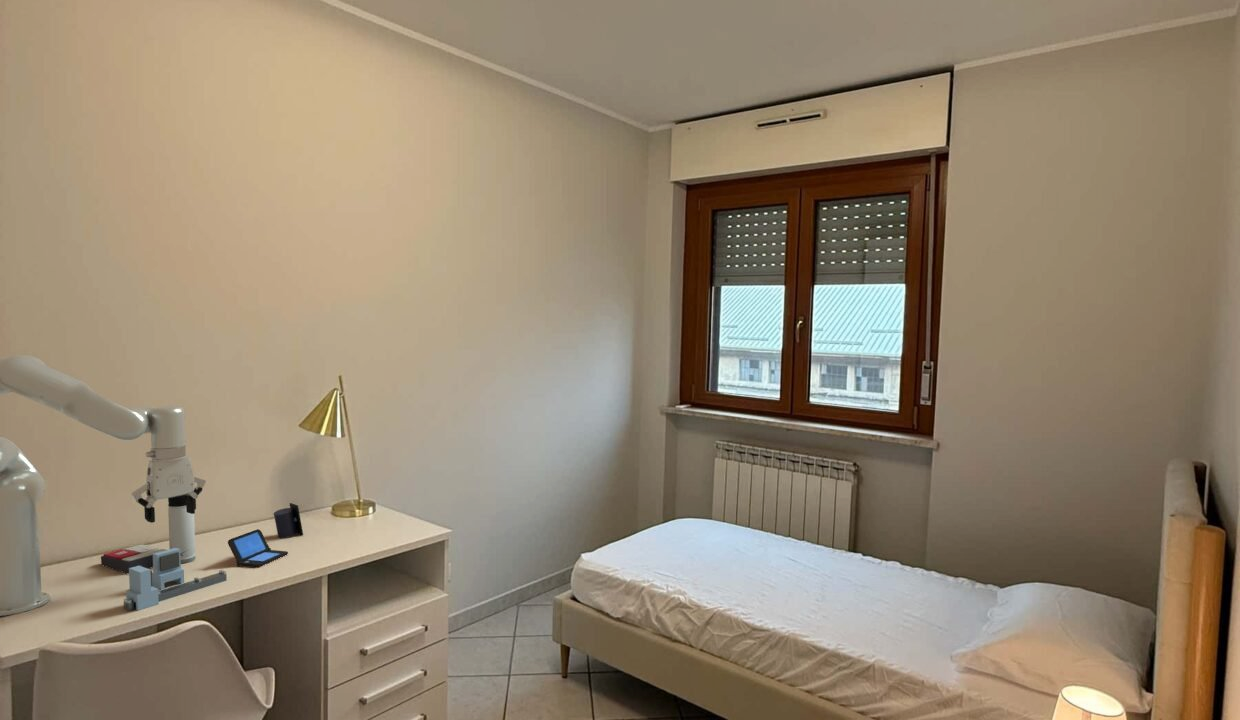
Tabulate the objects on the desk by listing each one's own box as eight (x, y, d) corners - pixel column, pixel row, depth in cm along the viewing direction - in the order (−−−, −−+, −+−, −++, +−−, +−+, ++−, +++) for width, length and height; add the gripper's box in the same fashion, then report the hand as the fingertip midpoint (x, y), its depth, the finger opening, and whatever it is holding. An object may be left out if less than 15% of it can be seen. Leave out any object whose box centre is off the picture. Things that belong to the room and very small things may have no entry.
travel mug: (184, 565, 193) (181, 496, 192) (164, 563, 194) (162, 494, 193) (201, 558, 199) (199, 490, 198) (182, 556, 200) (180, 489, 199)
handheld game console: (258, 569, 190) (258, 543, 190) (226, 566, 192) (226, 540, 192) (290, 554, 202) (289, 530, 202) (259, 552, 205) (259, 528, 204)
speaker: (301, 530, 225) (297, 500, 224) (303, 535, 220) (299, 505, 219) (276, 536, 222) (272, 505, 220) (277, 541, 217) (273, 510, 215)
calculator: (142, 542, 202) (170, 547, 195) (142, 557, 202) (170, 562, 195) (99, 553, 193) (127, 559, 186) (100, 568, 193) (128, 574, 186)
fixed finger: (158, 604, 165) (157, 567, 164) (137, 610, 161) (136, 573, 160) (147, 599, 167) (146, 563, 167) (126, 605, 164) (125, 569, 163)
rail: (128, 611, 160) (128, 601, 160) (123, 609, 162) (123, 599, 162) (226, 581, 180) (226, 571, 180) (221, 579, 181) (221, 569, 181)
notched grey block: (161, 590, 174) (160, 556, 173) (152, 587, 176) (151, 553, 176) (184, 583, 178) (183, 550, 178) (175, 580, 181) (174, 547, 180)
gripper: (138, 460, 169) (140, 527, 170) (210, 449, 183) (212, 511, 184) (124, 457, 173) (127, 523, 174) (196, 447, 187) (198, 508, 188)
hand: (171, 517), depth 179 cm, fingers open, 9 cm apart
